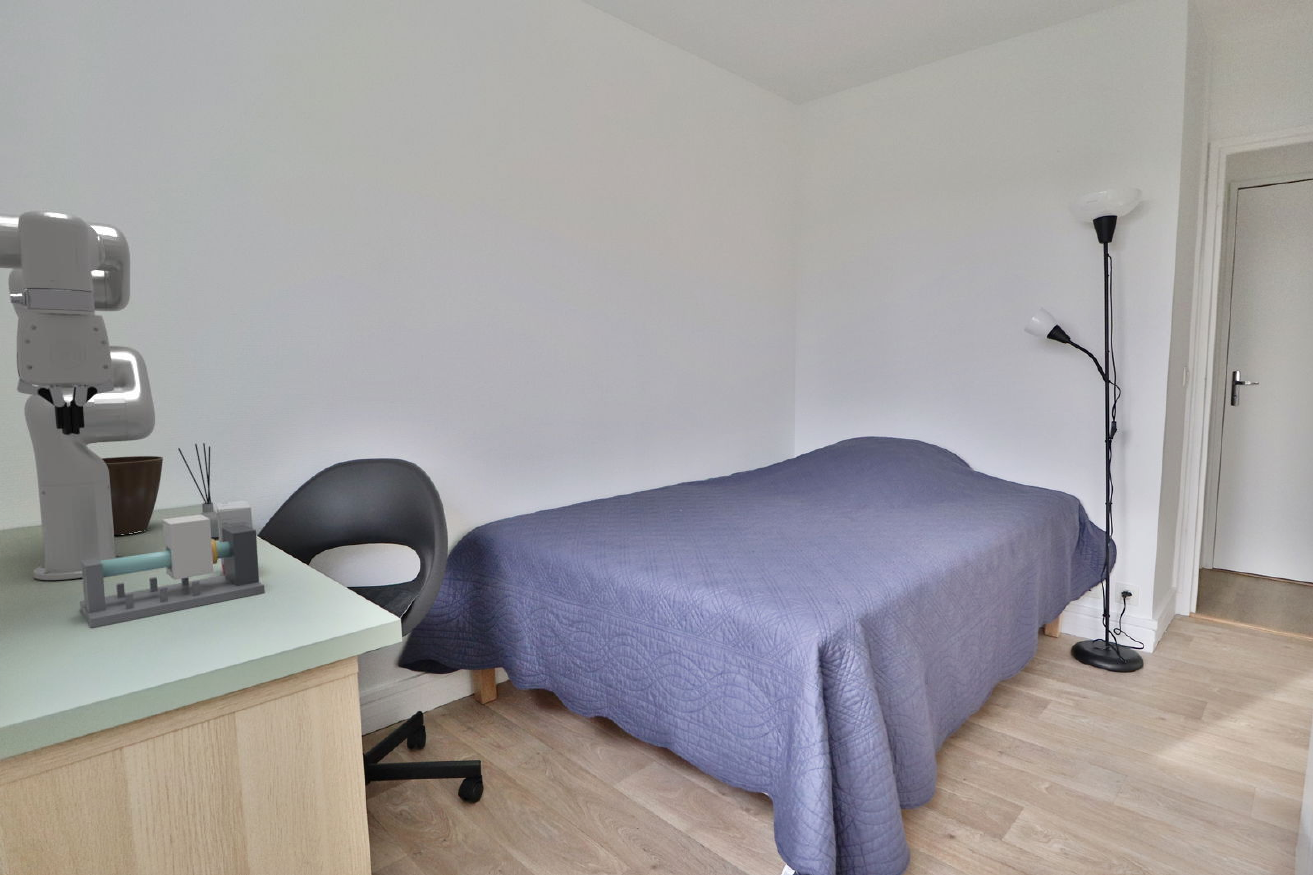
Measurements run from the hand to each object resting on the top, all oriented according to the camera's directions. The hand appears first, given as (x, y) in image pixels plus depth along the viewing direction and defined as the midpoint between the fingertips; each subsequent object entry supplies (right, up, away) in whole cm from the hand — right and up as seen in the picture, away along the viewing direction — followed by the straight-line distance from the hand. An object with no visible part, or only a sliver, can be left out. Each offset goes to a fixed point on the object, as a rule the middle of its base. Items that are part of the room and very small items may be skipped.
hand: (71, 433), depth 102 cm
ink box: (+13, -24, +18) cm, 33 cm away
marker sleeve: (+14, -21, +5) cm, 26 cm away
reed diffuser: (-9, -22, +44) cm, 50 cm away
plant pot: (-31, -21, +52) cm, 64 cm away
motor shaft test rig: (+13, -25, +4) cm, 28 cm away
